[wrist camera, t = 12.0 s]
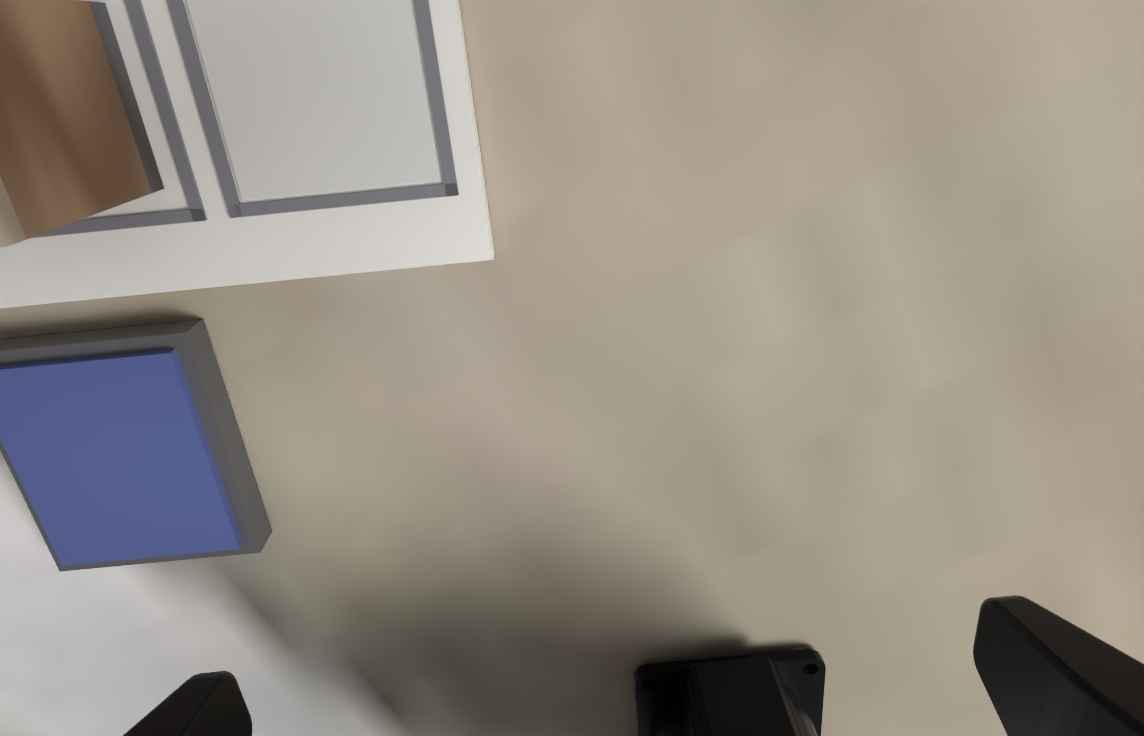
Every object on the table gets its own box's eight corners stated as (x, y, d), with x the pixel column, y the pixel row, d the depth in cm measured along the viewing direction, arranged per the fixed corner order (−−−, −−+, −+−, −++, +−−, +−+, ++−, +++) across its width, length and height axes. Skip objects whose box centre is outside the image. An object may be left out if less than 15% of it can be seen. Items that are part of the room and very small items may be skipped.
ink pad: (271, 531, 22) (256, 558, 21) (80, 549, 22) (53, 578, 21) (203, 319, 19) (180, 337, 18) (-18, 340, 19) (-55, 360, 18)
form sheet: (494, 253, 19) (492, 261, 18) (3, 301, 19) (-16, 310, 18) (435, -164, 15) (430, -174, 14) (-175, -100, 15) (-206, -106, 15)
